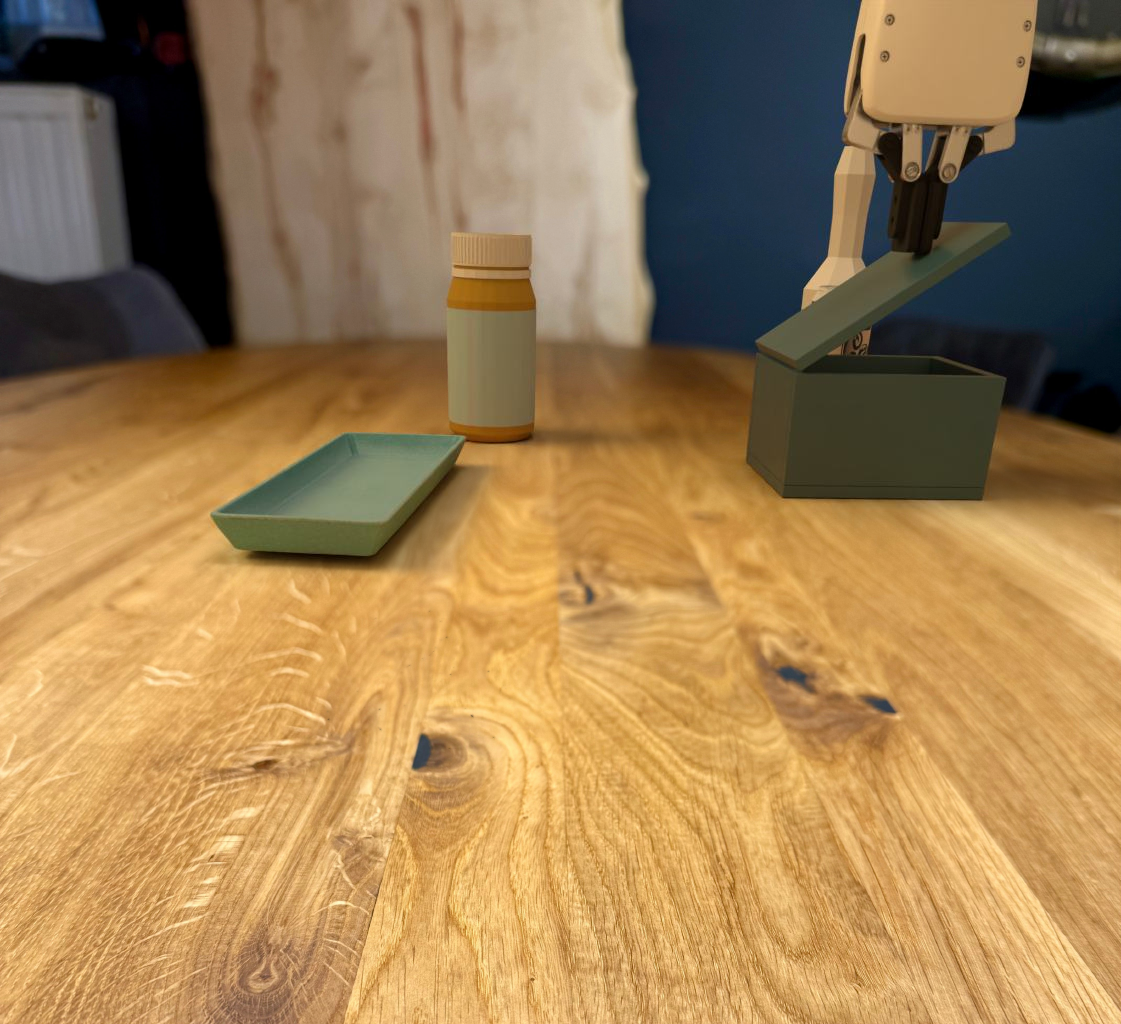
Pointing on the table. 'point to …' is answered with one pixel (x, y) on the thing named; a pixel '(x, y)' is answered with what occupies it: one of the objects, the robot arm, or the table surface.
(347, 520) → the teal serving tray
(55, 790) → the table surface
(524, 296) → the bottle
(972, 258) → the lid
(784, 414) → the chest
